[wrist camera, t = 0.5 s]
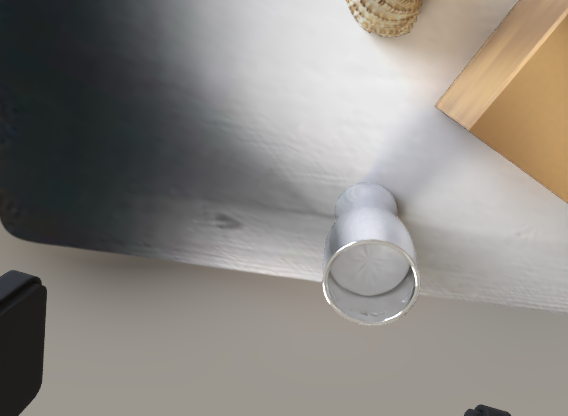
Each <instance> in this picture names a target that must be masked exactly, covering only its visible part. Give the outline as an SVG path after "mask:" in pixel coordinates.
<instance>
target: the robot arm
mask: <svg viewBox="0 0 568 416" xmlns="http://www.w3.org/2000/svg"><path fill="white" fill-rule="evenodd" d="M46 300H47V289H46V287H45V286H42V283H41V280H40V278H38V277H36V276H33V275H29V274H26V273H22V272H19V271H15V270H11V271H9V272H7V273H5V274H4V275H2V276H1V277H0V416H19V414H20V413H21V412H22V411H23V410H24V409H25V408H26V406H28V405H29V404H30V402H31V401H32V400H33V399H34V398H35V397H36V395H37V393H38V392H39V389H40V387H41V384H42V375H43V356H44V355H43V354H44V337H45V318H46ZM464 416H511V415H510V414H509V413H508V412H506V411H502V410H499V409H495V408H492V407H488V406H485V405H478V406H477V407H476V408H475V409H474V410H473V409H468V410H467V411H466V412H465V414H464Z"/></svg>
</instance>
